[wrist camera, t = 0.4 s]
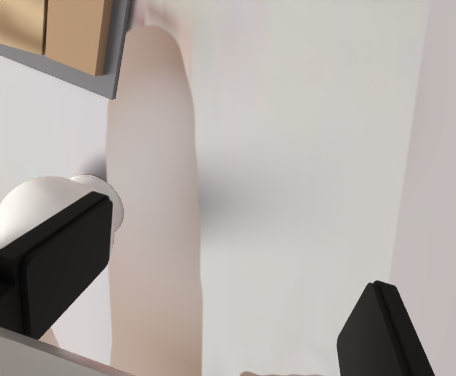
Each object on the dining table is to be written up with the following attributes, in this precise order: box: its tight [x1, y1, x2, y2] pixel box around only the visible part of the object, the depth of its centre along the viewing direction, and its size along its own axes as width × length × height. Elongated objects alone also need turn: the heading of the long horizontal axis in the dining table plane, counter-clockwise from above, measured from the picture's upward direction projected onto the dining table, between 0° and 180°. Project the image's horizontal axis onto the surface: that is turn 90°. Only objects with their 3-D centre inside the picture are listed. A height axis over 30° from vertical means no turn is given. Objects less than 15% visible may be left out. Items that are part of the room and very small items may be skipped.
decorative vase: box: [0, 174, 124, 253], centre depth 45 cm, size 18×18×25 cm
